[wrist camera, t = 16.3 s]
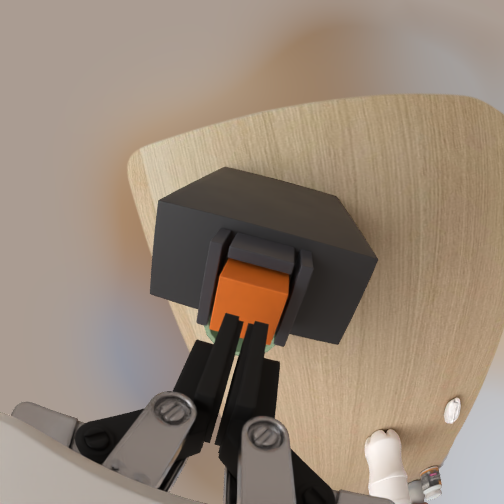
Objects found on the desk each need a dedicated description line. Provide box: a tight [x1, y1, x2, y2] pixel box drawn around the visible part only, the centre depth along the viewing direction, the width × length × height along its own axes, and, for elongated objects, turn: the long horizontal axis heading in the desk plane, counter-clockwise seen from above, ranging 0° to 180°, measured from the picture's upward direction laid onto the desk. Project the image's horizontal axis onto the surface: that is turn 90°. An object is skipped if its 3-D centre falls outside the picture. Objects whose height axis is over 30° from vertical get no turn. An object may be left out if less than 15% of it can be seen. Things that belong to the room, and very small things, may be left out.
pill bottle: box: [420, 466, 442, 500], centre depth 46 cm, size 6×6×10 cm
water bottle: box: [365, 429, 411, 504], centre depth 32 cm, size 7×7×25 cm
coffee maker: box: [150, 167, 378, 347], centre depth 24 cm, size 16×12×18 cm
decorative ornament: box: [408, 480, 428, 504], centre depth 48 cm, size 9×7×15 cm
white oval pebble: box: [444, 398, 461, 423], centre depth 38 cm, size 3×8×3 cm, turn 22°
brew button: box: [209, 258, 289, 345], centre depth 14 cm, size 3×3×2 cm
